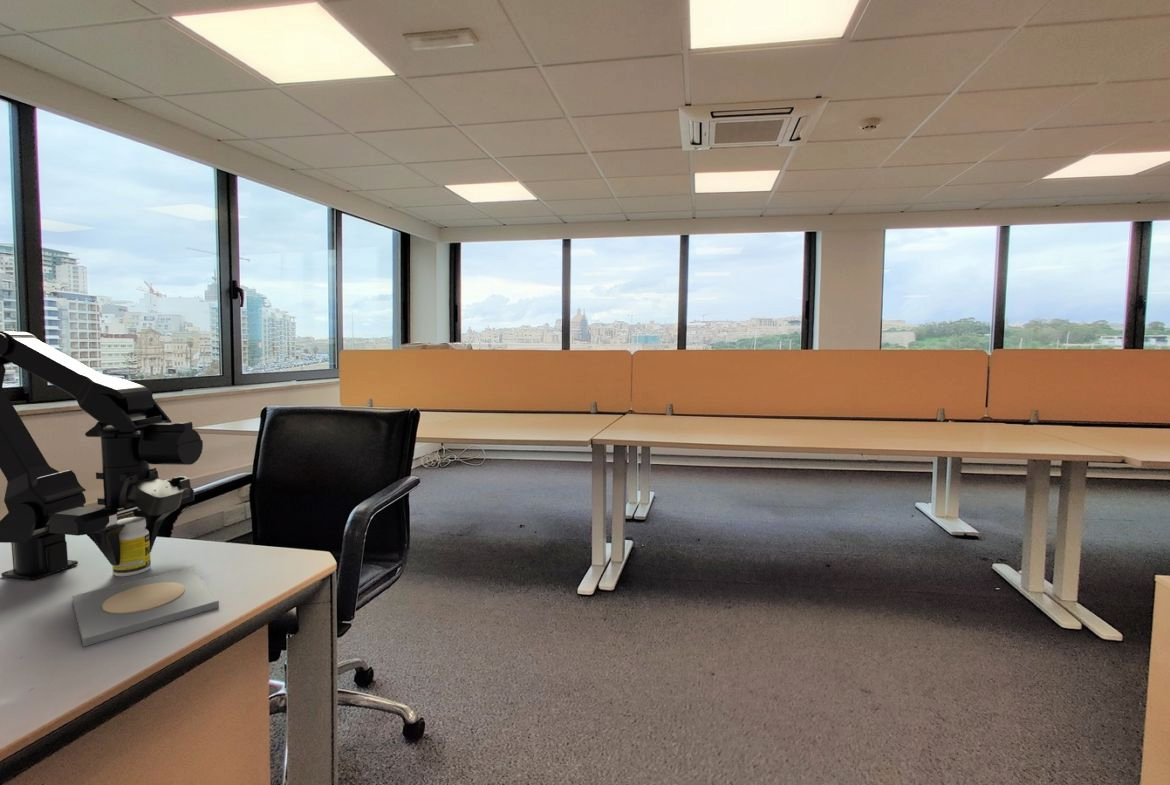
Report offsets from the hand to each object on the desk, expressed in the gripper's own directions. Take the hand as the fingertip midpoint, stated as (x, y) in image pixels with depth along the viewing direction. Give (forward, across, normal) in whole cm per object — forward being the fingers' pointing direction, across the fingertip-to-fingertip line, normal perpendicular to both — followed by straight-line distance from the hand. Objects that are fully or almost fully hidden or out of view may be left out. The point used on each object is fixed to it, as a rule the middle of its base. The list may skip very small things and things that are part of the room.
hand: (131, 558), depth 87 cm
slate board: (+2, -9, -13) cm, 16 cm away
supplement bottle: (+2, 0, 0) cm, 2 cm away
